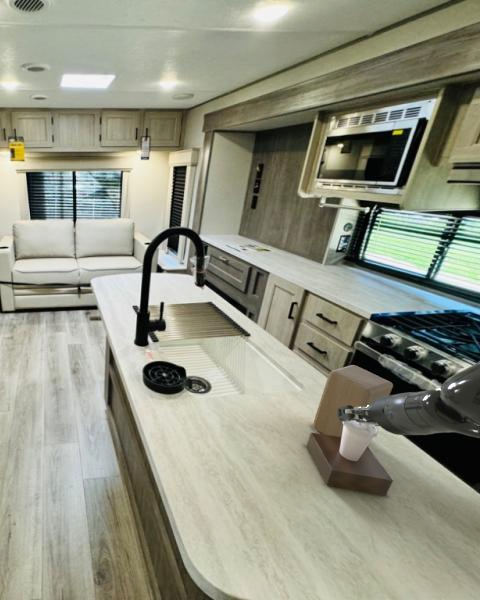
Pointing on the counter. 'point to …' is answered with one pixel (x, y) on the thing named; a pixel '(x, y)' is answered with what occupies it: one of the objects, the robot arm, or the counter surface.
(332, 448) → the walnut block
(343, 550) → the counter surface
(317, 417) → the wooden block
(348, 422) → the smoothie
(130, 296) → the counter surface
